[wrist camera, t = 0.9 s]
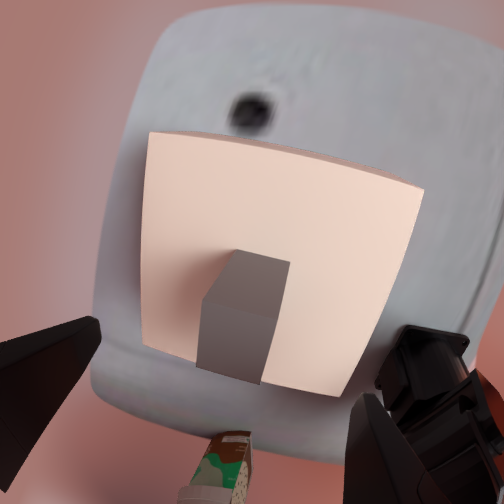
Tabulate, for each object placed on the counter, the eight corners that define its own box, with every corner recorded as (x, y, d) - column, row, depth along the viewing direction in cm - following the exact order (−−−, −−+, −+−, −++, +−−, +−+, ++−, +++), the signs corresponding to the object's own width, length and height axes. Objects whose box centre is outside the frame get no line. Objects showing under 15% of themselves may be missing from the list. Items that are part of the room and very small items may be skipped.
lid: (420, 188, 11) (474, 218, 7) (339, 391, 16) (339, 461, 11) (155, 131, 13) (82, 136, 8) (146, 339, 17) (104, 393, 13)
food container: (193, 413, 28) (158, 489, 19) (251, 423, 27) (226, 507, 18) (208, 465, 33) (185, 525, 23) (253, 473, 31) (236, 536, 22)
